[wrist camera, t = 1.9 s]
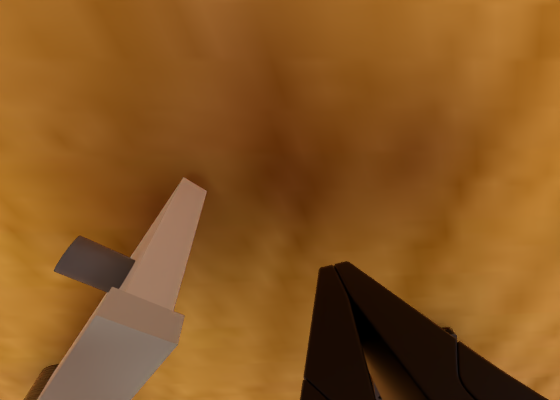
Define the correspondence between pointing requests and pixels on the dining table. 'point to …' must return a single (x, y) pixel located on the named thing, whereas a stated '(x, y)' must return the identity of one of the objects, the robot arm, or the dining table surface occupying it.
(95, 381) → the gate panel
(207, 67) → the dining table surface
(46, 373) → the gate frame
